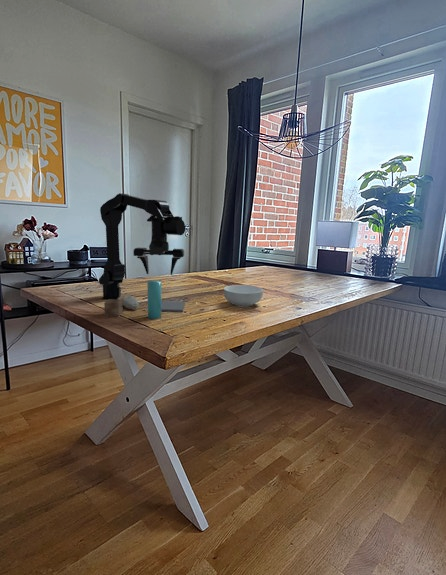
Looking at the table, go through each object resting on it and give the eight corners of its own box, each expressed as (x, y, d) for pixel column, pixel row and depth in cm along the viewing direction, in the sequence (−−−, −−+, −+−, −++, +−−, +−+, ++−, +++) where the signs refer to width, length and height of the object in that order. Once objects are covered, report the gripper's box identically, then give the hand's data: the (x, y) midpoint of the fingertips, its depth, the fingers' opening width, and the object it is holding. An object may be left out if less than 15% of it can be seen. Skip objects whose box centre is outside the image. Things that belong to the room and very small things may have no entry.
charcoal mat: (148, 310, 126) (148, 308, 126) (154, 302, 138) (154, 300, 138) (182, 311, 126) (182, 309, 126) (185, 303, 139) (185, 301, 139)
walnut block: (104, 316, 117) (104, 302, 116) (108, 312, 122) (108, 299, 121) (118, 316, 117) (118, 303, 116) (122, 312, 122) (122, 299, 121)
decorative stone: (127, 312, 124) (127, 303, 123) (118, 302, 137) (117, 294, 136) (143, 310, 127) (143, 302, 126) (132, 301, 140) (132, 293, 139)
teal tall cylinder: (146, 318, 116) (146, 282, 113) (148, 314, 121) (148, 280, 118) (160, 319, 116) (160, 282, 114) (162, 315, 121) (162, 280, 118)
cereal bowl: (227, 298, 151) (228, 283, 150) (263, 301, 148) (264, 286, 147) (219, 307, 135) (220, 290, 134) (259, 311, 132) (261, 294, 131)
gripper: (129, 234, 117) (130, 277, 121) (181, 235, 118) (181, 278, 121) (136, 233, 128) (137, 272, 131) (184, 234, 129) (184, 274, 132)
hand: (159, 274), depth 129 cm, fingers open, 9 cm apart
